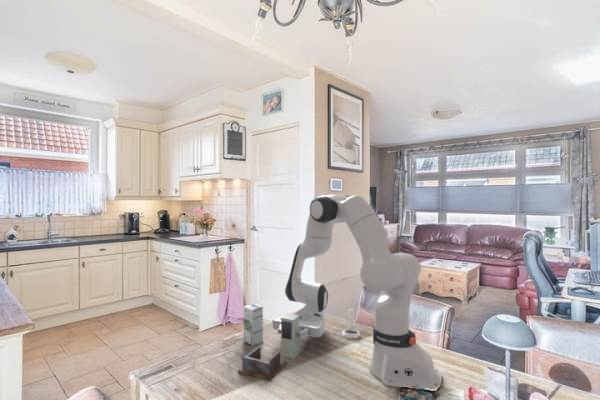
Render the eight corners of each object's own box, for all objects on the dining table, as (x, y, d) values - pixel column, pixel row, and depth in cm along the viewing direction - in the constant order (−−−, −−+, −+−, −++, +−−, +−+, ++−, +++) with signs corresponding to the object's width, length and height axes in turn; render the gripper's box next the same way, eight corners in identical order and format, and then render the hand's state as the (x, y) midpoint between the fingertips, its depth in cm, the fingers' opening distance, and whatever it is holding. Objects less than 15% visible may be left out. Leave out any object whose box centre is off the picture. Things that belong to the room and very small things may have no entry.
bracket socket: (286, 363, 111) (286, 349, 111) (269, 381, 100) (269, 365, 100) (257, 356, 116) (257, 342, 116) (238, 372, 105) (238, 357, 105)
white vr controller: (355, 314, 143) (361, 310, 138) (356, 343, 136) (363, 339, 131) (339, 312, 142) (345, 307, 137) (339, 340, 135) (346, 337, 129)
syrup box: (263, 341, 128) (263, 305, 128) (251, 346, 124) (251, 309, 124) (254, 337, 132) (254, 302, 132) (243, 341, 128) (243, 305, 128)
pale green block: (299, 352, 119) (299, 315, 119) (292, 359, 114) (292, 320, 114) (287, 349, 121) (287, 313, 121) (280, 356, 116) (280, 318, 116)
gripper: (281, 309, 134) (264, 320, 121) (327, 316, 125) (314, 329, 113) (281, 324, 134) (264, 337, 121) (327, 332, 125) (314, 347, 113)
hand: (289, 333), depth 117 cm, fingers open, 7 cm apart
